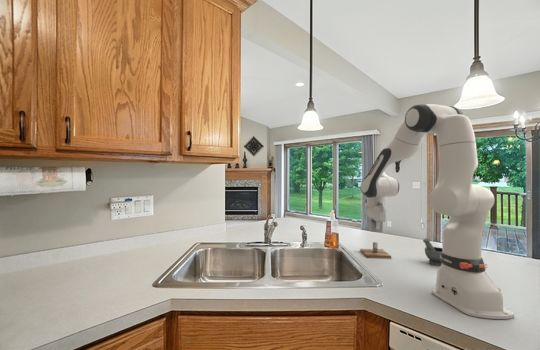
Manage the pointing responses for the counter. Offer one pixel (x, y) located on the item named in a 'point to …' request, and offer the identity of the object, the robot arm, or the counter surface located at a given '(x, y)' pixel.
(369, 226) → the square sleeve
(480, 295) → the robot arm
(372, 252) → the post block
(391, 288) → the counter surface
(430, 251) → the mortar and pestle
